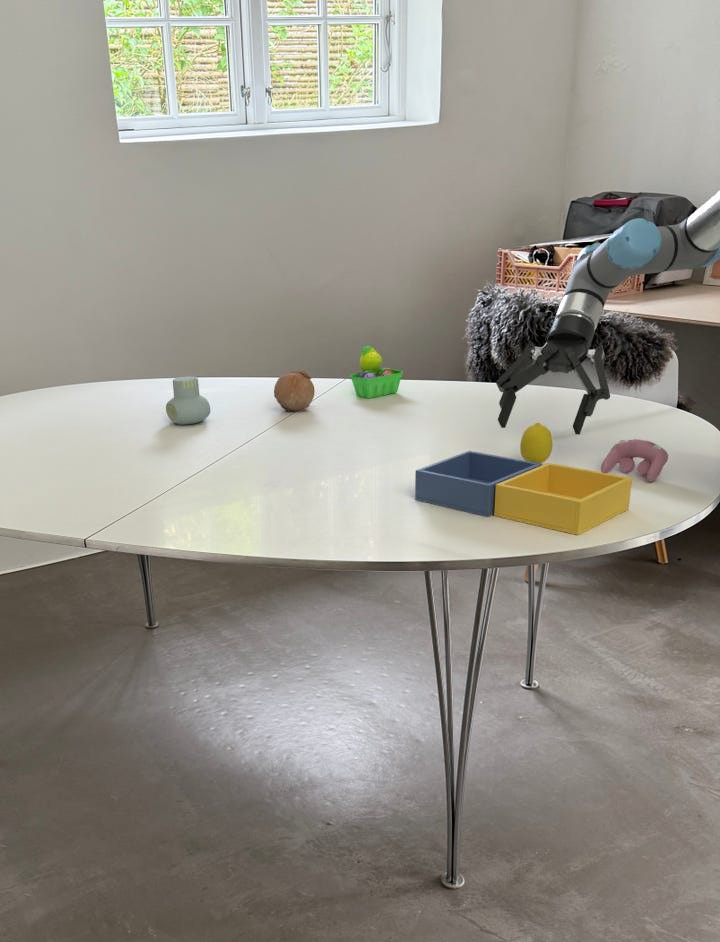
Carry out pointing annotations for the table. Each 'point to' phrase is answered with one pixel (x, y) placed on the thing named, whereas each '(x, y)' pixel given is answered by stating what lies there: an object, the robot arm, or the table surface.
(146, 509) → the table surface
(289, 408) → the onion
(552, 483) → the yellow bin
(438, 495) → the blue bin
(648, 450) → the video game controller
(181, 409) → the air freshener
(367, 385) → the fruit basket
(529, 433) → the lemon
